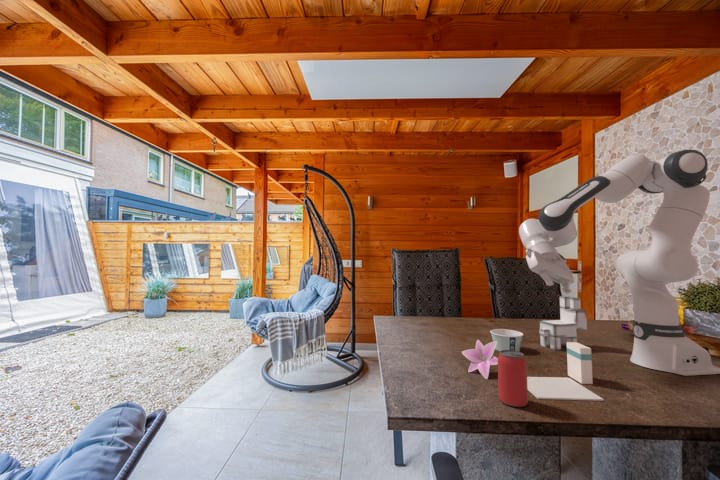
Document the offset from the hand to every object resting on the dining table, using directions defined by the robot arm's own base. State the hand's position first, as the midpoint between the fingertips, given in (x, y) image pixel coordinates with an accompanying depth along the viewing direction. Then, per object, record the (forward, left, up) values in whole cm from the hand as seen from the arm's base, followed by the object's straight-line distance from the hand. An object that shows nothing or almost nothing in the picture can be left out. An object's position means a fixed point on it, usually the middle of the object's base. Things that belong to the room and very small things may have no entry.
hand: (559, 288), depth 102 cm
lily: (+28, +6, -26) cm, 39 cm away
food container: (+10, -20, -26) cm, 34 cm away
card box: (+1, +10, -26) cm, 28 cm away
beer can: (+27, +26, -26) cm, 45 cm away
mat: (+12, +17, -26) cm, 33 cm away
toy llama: (-13, -24, -26) cm, 38 cm away
